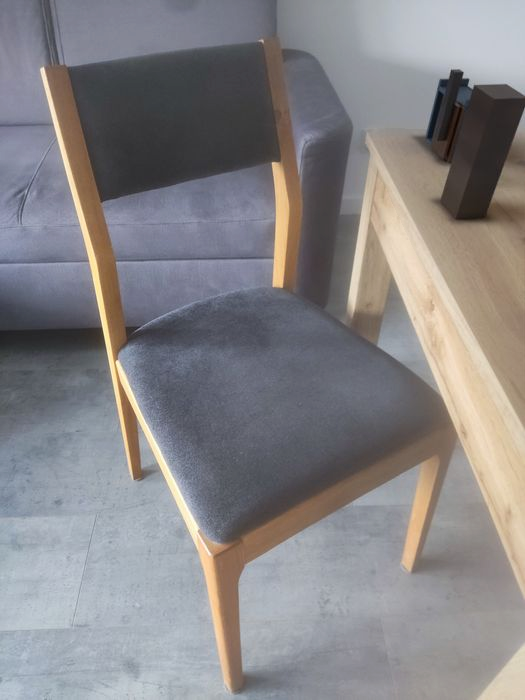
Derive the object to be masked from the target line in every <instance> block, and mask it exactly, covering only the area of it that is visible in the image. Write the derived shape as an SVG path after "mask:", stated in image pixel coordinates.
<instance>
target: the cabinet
mask: <svg viewBox="0 0 525 700" xmlns="http://www.w3.org/2000/svg"><path fill="white" fill-rule="evenodd" d="M448 80H449V78H439V80H438V84H437V88H436V92H435V96H434V101H433V105H432V107H431V113H430V117H429V121H428V123H427V124H428V125H427V128H426V133H425V137H424V139H425V140H426V141H427V142H428V143H429V144H430V145H431V142H432V138H433V134H434V130H435V126H436V122H437V118H438V114H439V111H440V107H441V103H442V99H443V95H445V91H446V87H447V83H448ZM469 83H470V78H468V77H464V78H463V77H462V81H461V85H460V88H459V92H458V96H457V99H456V103H457V104H458V105H459V106H460V110H459V113H458V117H457V120H456V124H455V128H454V131H453V135H452V138H451V142H450V145H449V149H448V152H447V156H446V159H444V160H445V162H447V164H451V162H452V159H453V155H454V152H455V149H456V145H457V142H458V138H459V135H460V131H461V128H462V125H463V121H464V118H465V114H466V111H467V107H468V104H469V101H470V97H471V94H472V90H473V88H471V87H470V86H469Z"/></svg>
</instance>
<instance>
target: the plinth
mask: <svg viewBox="0 0 525 700" xmlns="http://www.w3.org/2000/svg"><path fill="white" fill-rule="evenodd" d="M472 89H473V90H472V94H471V97H470V101H469V104H468V107H467V111H466V114H465V118H464V121H463V125H462V128H461V131H460V135H459V138H458V142H457V145H456V149H455V152H454V155H453V159H452V162H451V163H450V166H449V170H448V172H447V176H446V179H445V183H444V187H443V190H442V193H441V197H440V200H439V203H440V204H441V205H442V206H443V208H444V209H446V211H447V212H448V213H449V214H450V216H452V218H453V219H454V220H470V219H471V220H472V219H485V218H486V215H487V213H488V211H489V207H490V205H491V202H492V199H493V197H494V194H495V191H496V188H497V187H498V186H497V185H498V183H499V180H500V178H501V175H502V172H503V169H504V167H505V166H504V165H505V163H506V160H507V158H508V155H509V153H510V150H511V147H512V144H513V142H514V139H515V136H516V134H517V131H518V128H519V126H520V122H521V119H522V117H523V114H524V111H525V94H523V93H521V92H519V91H518V90H517V89H516V88H513V87H512V86H511V85H509V84H507V83H498V84H497V83H495V84H493V83H492V84H491V83H490V84H473V87H472Z"/></svg>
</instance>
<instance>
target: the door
mask: <svg viewBox="0 0 525 700" xmlns="http://www.w3.org/2000/svg"><path fill="white" fill-rule="evenodd" d="M464 74H465V72H464V71H463V70H461V69H459V68H458V69H455V68H454V69H450V72H449V76H448V79H449V80H448V83H447V87H446V91H445V95H443V99H442V103H441V107H440V111H439V114H438V118H437V122H436V126H435V130H434V134H433V138H432V142H431V144H430V145H429V148H430V149H431V150H433V151H434V152H435V154H437V156H438V157H440V158H441V159H442V160H445V159H446V156H447V152H448V149H449V145H450V142H451V138H452V135H453V131H454V128H455V124H456V120H457V117H458V113H459V110H460V106H459V105H458V104H457V103H456V99H457V96H458V92H459V88H460V85H461V81H462V78H463V77H464Z"/></svg>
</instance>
